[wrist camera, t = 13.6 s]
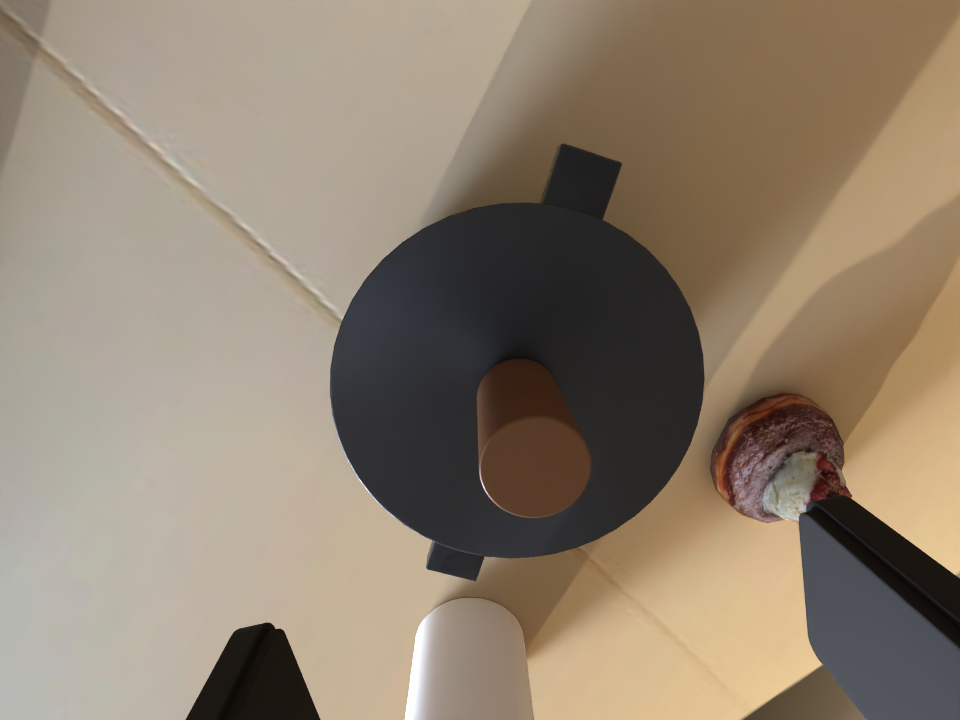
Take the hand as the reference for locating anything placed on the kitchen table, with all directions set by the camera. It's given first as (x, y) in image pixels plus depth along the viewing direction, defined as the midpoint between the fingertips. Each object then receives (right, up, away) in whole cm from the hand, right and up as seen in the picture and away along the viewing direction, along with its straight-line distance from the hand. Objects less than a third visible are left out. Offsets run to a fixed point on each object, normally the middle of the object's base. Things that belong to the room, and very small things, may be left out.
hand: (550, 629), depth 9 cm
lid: (0, +3, +12) cm, 13 cm away
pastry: (+16, -1, +22) cm, 27 cm away
